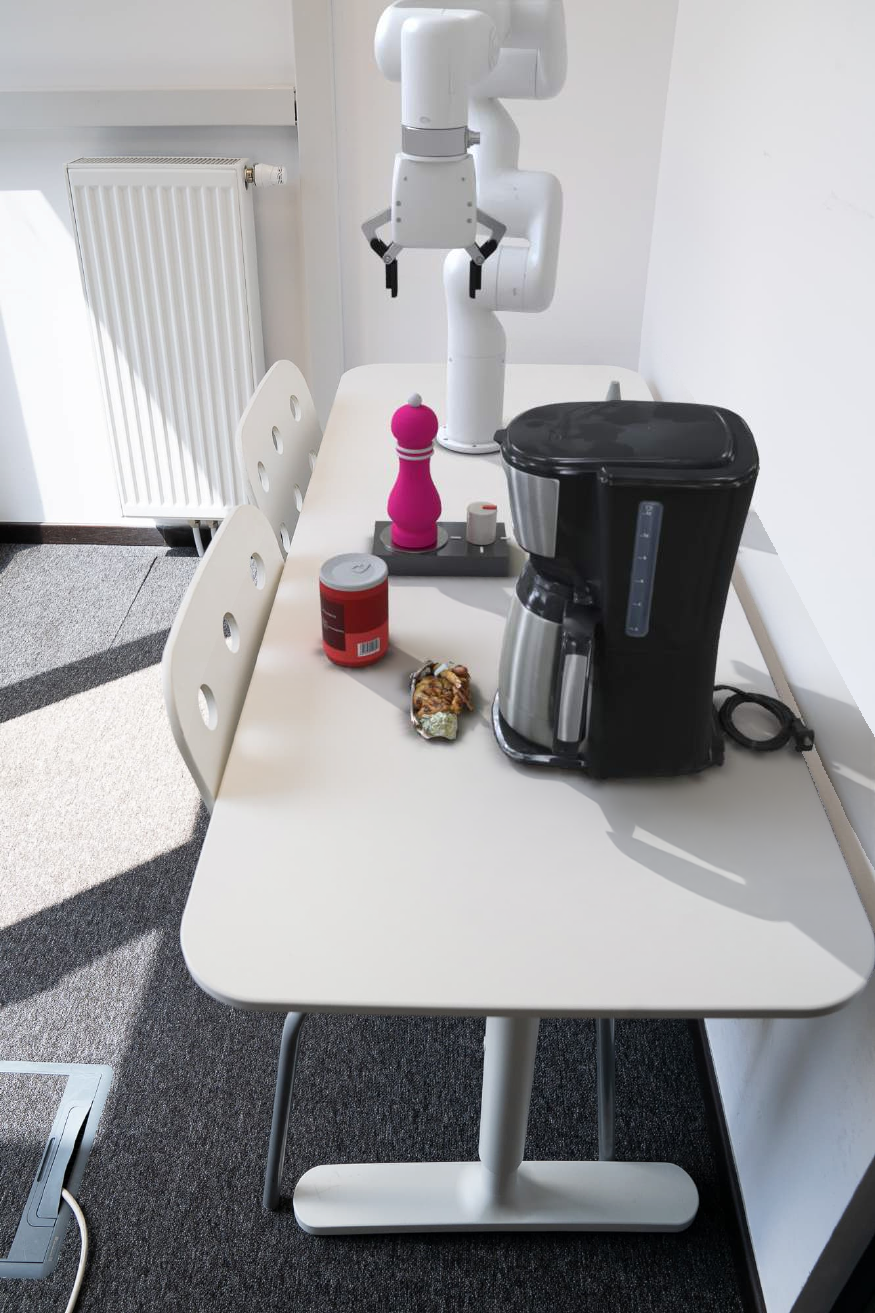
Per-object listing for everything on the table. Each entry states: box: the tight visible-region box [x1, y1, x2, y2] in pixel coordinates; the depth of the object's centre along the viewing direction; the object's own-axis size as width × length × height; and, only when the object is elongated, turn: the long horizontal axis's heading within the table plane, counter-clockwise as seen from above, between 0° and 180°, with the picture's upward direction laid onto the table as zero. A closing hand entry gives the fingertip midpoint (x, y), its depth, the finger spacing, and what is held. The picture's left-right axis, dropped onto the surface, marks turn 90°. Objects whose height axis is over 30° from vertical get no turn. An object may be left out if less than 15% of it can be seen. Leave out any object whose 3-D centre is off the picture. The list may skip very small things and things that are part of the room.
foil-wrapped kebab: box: [408, 657, 474, 740], centre depth 111 cm, size 7×12×4 cm, turn 2°
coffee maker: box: [491, 399, 816, 781], centre depth 101 cm, size 23×32×34 cm
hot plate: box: [371, 520, 512, 577], centre depth 140 cm, size 19×10×3 cm, turn 90°
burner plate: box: [380, 525, 448, 554], centre depth 139 cm, size 9×9×1 cm
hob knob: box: [466, 501, 498, 545], centre depth 138 cm, size 4×4×5 cm
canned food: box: [318, 552, 390, 668], centre depth 118 cm, size 8×8×11 cm
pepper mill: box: [386, 392, 443, 548], centre depth 133 cm, size 7×7×20 cm
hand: (433, 295), depth 127 cm, fingers open, 9 cm apart
